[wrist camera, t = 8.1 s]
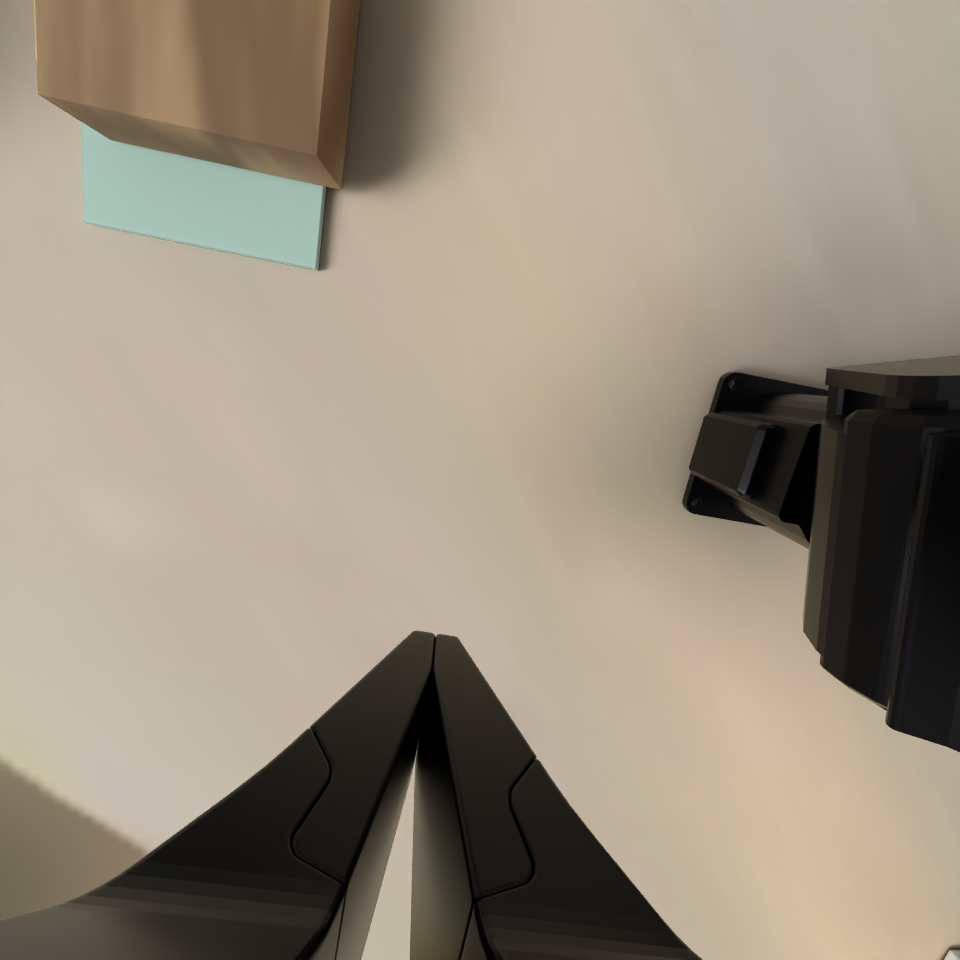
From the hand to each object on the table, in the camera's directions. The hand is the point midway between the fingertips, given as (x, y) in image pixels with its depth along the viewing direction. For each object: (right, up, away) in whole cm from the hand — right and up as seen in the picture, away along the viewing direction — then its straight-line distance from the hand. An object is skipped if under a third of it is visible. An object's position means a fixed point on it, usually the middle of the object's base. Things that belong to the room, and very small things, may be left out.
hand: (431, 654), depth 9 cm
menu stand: (-4, +18, +7) cm, 20 cm away
